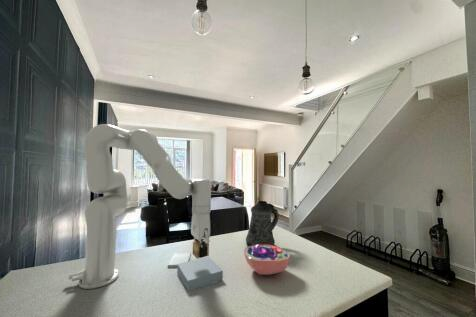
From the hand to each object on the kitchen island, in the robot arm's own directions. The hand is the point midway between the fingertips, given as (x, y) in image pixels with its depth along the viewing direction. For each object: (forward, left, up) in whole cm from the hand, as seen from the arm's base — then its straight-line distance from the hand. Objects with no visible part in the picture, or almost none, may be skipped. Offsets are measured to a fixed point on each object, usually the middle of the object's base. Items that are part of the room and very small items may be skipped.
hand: (200, 253), depth 79 cm
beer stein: (+43, +13, -9) cm, 46 cm away
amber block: (0, 0, -1) cm, 1 cm away
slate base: (0, 0, -9) cm, 9 cm away
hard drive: (-3, +17, -10) cm, 20 cm away
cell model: (+26, -11, -9) cm, 29 cm away
